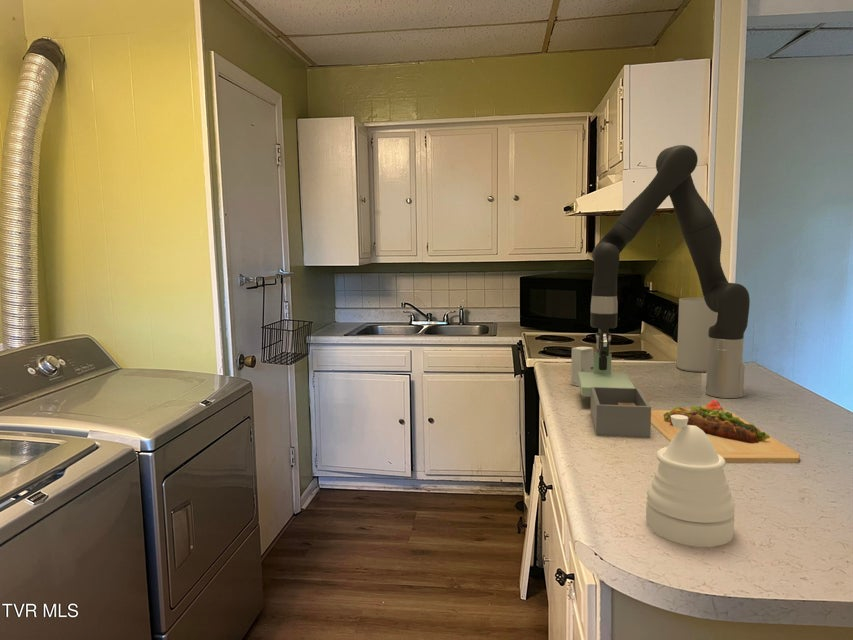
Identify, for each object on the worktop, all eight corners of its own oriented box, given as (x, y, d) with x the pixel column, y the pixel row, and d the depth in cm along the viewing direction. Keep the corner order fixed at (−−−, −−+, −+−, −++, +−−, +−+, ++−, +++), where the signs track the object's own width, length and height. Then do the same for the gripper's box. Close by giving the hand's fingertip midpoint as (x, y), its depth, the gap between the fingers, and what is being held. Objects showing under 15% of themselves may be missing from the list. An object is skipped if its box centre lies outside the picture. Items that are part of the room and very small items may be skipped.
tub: (638, 418, 152) (639, 388, 151) (650, 441, 135) (651, 407, 134) (590, 416, 155) (590, 386, 154) (596, 438, 137) (596, 405, 136)
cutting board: (637, 416, 156) (638, 389, 155) (727, 416, 155) (729, 388, 154) (688, 465, 122) (689, 430, 121) (805, 465, 120) (807, 430, 119)
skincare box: (580, 387, 186) (581, 349, 185) (570, 384, 190) (570, 347, 188) (594, 384, 190) (594, 347, 188) (583, 382, 193) (583, 345, 192)
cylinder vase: (673, 370, 208) (675, 300, 205) (680, 364, 219) (683, 297, 215) (711, 374, 201) (715, 301, 198) (717, 367, 211) (721, 298, 208)
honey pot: (645, 539, 91) (649, 426, 88) (646, 504, 103) (649, 404, 100) (739, 553, 86) (745, 434, 84) (728, 515, 98) (733, 410, 96)
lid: (625, 381, 175) (626, 353, 174) (635, 397, 156) (636, 366, 155) (577, 379, 178) (578, 352, 177) (581, 396, 159) (582, 365, 157)
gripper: (620, 314, 165) (618, 374, 167) (614, 308, 178) (613, 365, 180) (592, 313, 166) (591, 373, 169) (589, 308, 180) (587, 364, 182)
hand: (602, 369), depth 175 cm, fingers closed on lid, 1 cm apart
